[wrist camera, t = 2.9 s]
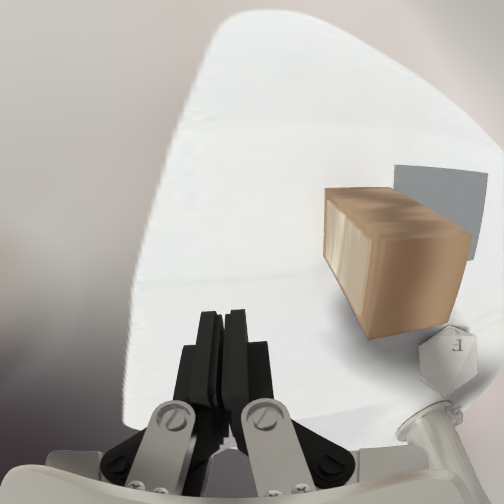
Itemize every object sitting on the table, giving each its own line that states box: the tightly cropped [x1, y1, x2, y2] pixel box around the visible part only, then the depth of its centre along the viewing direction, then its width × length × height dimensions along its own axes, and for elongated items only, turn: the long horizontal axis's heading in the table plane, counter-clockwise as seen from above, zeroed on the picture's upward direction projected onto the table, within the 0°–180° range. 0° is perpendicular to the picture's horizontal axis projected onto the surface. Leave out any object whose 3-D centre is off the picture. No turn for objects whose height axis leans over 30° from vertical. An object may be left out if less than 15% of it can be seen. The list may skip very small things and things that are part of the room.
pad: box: [394, 165, 488, 261], centre depth 23 cm, size 13×10×1 cm
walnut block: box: [323, 187, 473, 340], centre depth 18 cm, size 6×6×11 cm
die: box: [418, 325, 478, 398], centre depth 27 cm, size 8×9×10 cm
